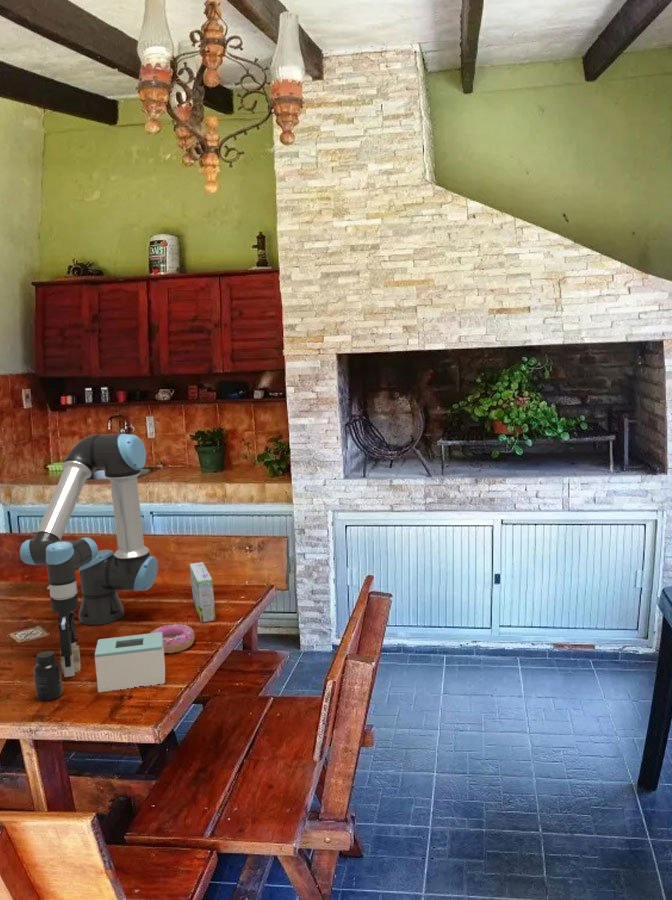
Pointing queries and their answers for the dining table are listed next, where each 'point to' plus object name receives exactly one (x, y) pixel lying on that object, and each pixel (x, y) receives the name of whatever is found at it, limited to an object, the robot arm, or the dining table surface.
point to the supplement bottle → (47, 676)
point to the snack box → (202, 592)
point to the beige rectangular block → (75, 659)
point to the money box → (130, 662)
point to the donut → (176, 637)
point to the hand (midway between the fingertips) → (71, 669)
